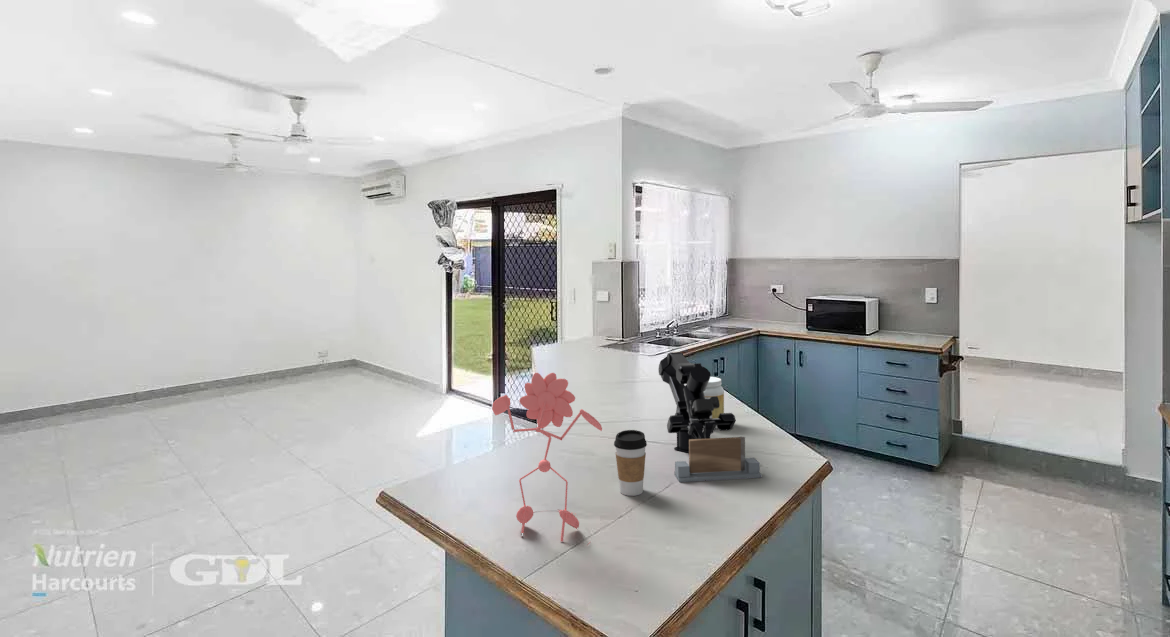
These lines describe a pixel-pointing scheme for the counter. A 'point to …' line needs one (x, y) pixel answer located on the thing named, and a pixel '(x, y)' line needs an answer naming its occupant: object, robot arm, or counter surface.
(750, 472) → the gate frame
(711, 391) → the supplement tub
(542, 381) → the figurine
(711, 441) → the gate leaf
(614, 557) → the counter surface
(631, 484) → the coffee cup
